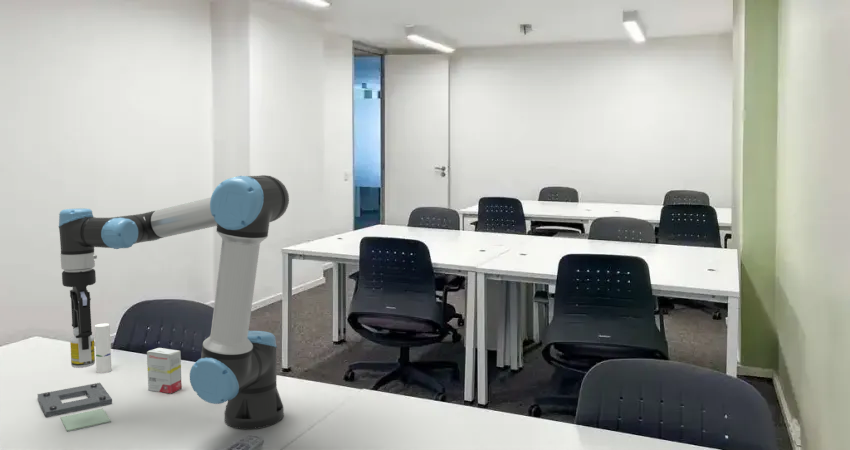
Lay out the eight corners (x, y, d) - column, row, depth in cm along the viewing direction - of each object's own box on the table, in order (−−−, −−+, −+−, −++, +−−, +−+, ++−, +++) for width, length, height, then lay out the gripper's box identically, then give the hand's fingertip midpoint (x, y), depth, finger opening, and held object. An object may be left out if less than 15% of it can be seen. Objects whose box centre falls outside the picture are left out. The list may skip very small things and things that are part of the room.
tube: (96, 369, 206) (94, 324, 204) (111, 368, 208) (109, 322, 206) (96, 373, 202) (94, 327, 200) (111, 372, 204) (109, 326, 202)
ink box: (182, 388, 190) (181, 349, 189) (171, 394, 186) (169, 354, 184) (159, 384, 193) (158, 346, 192) (147, 390, 189) (146, 351, 187)
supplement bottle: (85, 369, 162) (83, 331, 161) (66, 367, 163) (64, 330, 162) (100, 362, 168) (98, 325, 167) (82, 361, 169) (80, 324, 168)
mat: (110, 422, 166) (110, 420, 166) (67, 431, 160) (67, 430, 160) (102, 409, 174) (102, 408, 174) (60, 418, 168) (60, 417, 168)
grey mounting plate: (112, 403, 178) (111, 397, 178) (45, 417, 168) (45, 410, 168) (100, 387, 191) (99, 381, 190) (37, 398, 181) (37, 392, 181)
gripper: (102, 273, 158) (106, 364, 160) (88, 263, 172) (92, 347, 175) (67, 276, 153) (72, 370, 156) (56, 266, 168) (61, 352, 170)
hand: (83, 358), depth 165 cm, fingers closed on supplement bottle, 5 cm apart
